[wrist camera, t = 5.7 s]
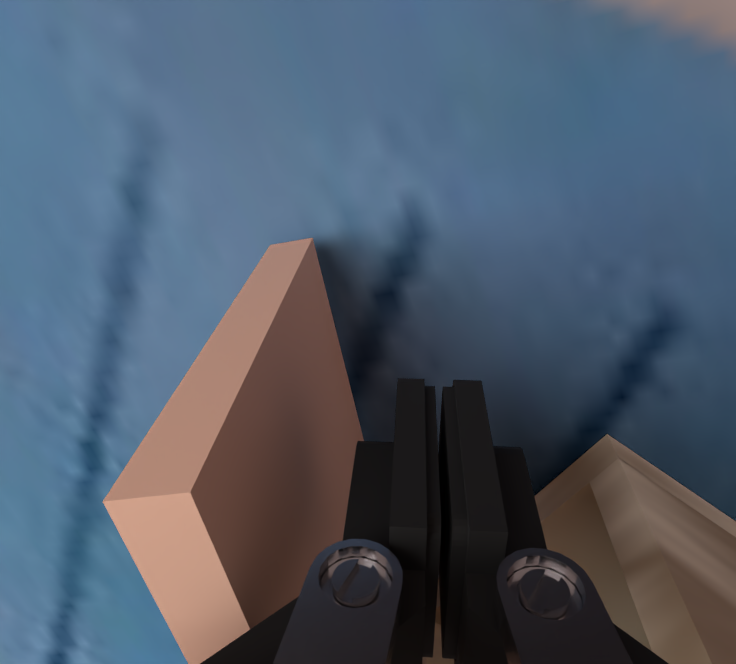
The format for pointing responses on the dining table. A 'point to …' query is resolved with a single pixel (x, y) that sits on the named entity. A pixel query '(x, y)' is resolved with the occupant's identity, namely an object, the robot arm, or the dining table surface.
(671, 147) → the dining table surface
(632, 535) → the wooden cabinet
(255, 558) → the door
